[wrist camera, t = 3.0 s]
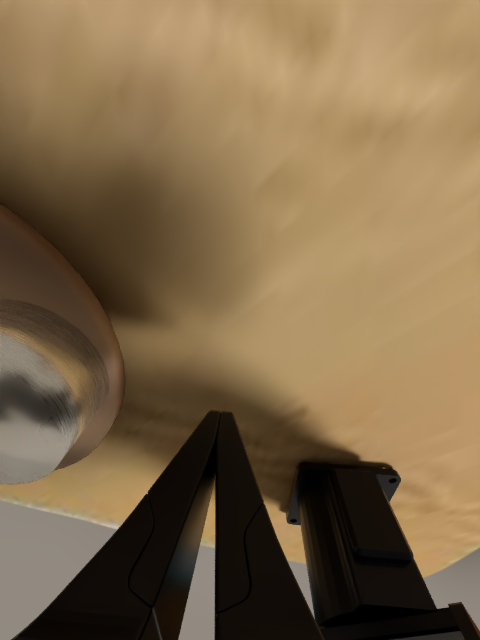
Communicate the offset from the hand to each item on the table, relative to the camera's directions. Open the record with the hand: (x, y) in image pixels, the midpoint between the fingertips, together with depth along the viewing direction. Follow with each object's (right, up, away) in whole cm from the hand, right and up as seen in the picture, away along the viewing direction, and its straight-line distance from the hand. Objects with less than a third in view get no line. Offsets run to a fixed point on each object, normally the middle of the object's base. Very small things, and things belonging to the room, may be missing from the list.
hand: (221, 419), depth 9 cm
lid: (-8, +1, +2) cm, 9 cm away
